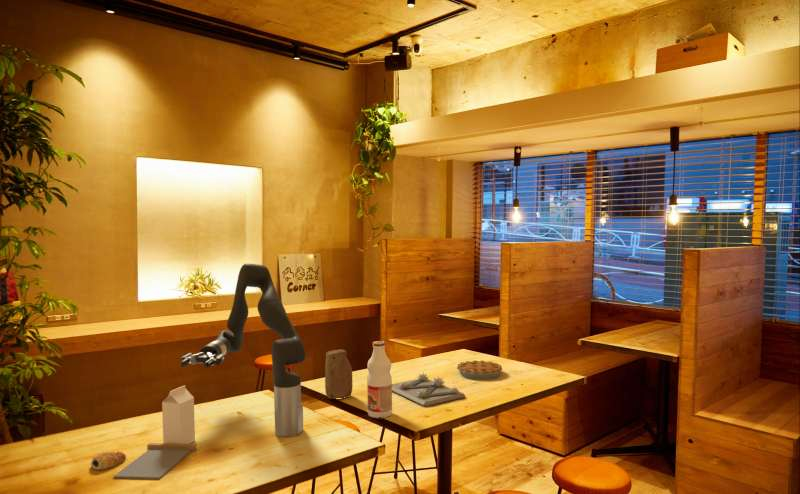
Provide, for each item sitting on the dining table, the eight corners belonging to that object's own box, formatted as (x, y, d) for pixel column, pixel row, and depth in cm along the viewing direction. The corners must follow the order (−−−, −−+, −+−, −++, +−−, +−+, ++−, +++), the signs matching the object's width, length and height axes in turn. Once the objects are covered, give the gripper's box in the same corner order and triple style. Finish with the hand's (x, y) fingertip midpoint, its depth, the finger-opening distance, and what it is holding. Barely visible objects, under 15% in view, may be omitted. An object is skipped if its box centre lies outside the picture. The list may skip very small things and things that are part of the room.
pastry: (118, 456, 176) (118, 445, 175) (130, 461, 172) (130, 449, 172) (88, 467, 168) (88, 455, 167) (100, 473, 164) (100, 460, 164)
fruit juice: (391, 418, 206) (390, 344, 205) (366, 418, 206) (365, 344, 205) (392, 410, 215) (391, 339, 214) (368, 410, 215) (367, 339, 214)
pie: (506, 380, 255) (506, 369, 254) (459, 381, 255) (458, 370, 255) (498, 368, 276) (498, 358, 276) (455, 368, 277) (454, 358, 277)
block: (330, 401, 227) (329, 353, 226) (324, 396, 233) (323, 350, 233) (354, 397, 232) (353, 350, 231) (348, 393, 238) (347, 347, 237)
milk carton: (195, 441, 187) (193, 386, 186) (180, 449, 180) (178, 392, 179) (178, 438, 189) (176, 384, 189) (163, 446, 183) (161, 390, 182)
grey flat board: (196, 449, 180) (196, 444, 180) (162, 479, 159) (162, 473, 159) (149, 448, 181) (149, 443, 181) (110, 477, 160) (110, 471, 160)
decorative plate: (385, 390, 243) (385, 374, 243) (425, 382, 255) (424, 367, 254) (424, 409, 218) (424, 391, 217) (466, 399, 229) (466, 382, 229)
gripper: (195, 342, 212) (174, 354, 196) (230, 343, 211) (213, 355, 195) (195, 361, 213) (175, 374, 197) (231, 362, 212) (213, 375, 196)
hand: (194, 365), depth 196 cm, fingers open, 8 cm apart
